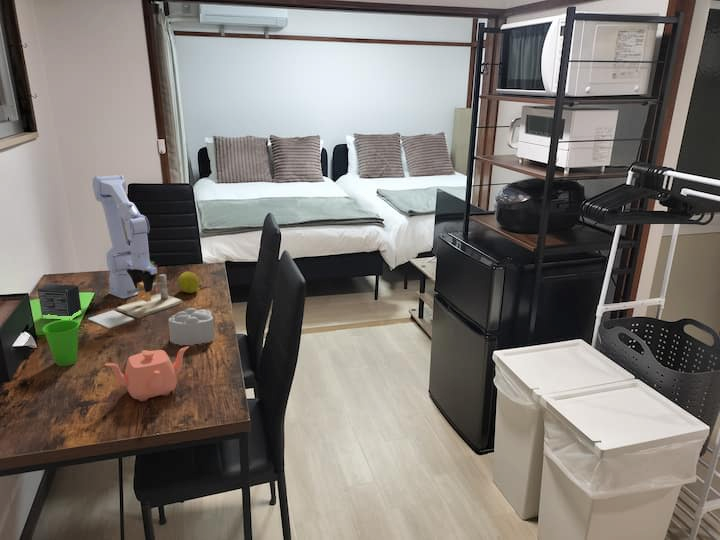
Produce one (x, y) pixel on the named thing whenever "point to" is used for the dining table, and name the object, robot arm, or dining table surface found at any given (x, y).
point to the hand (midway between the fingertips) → (143, 289)
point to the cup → (63, 340)
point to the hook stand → (156, 303)
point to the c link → (141, 294)
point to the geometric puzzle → (153, 265)
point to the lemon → (188, 282)
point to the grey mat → (111, 319)
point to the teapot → (149, 373)
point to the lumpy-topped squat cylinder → (191, 327)
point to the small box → (59, 299)
